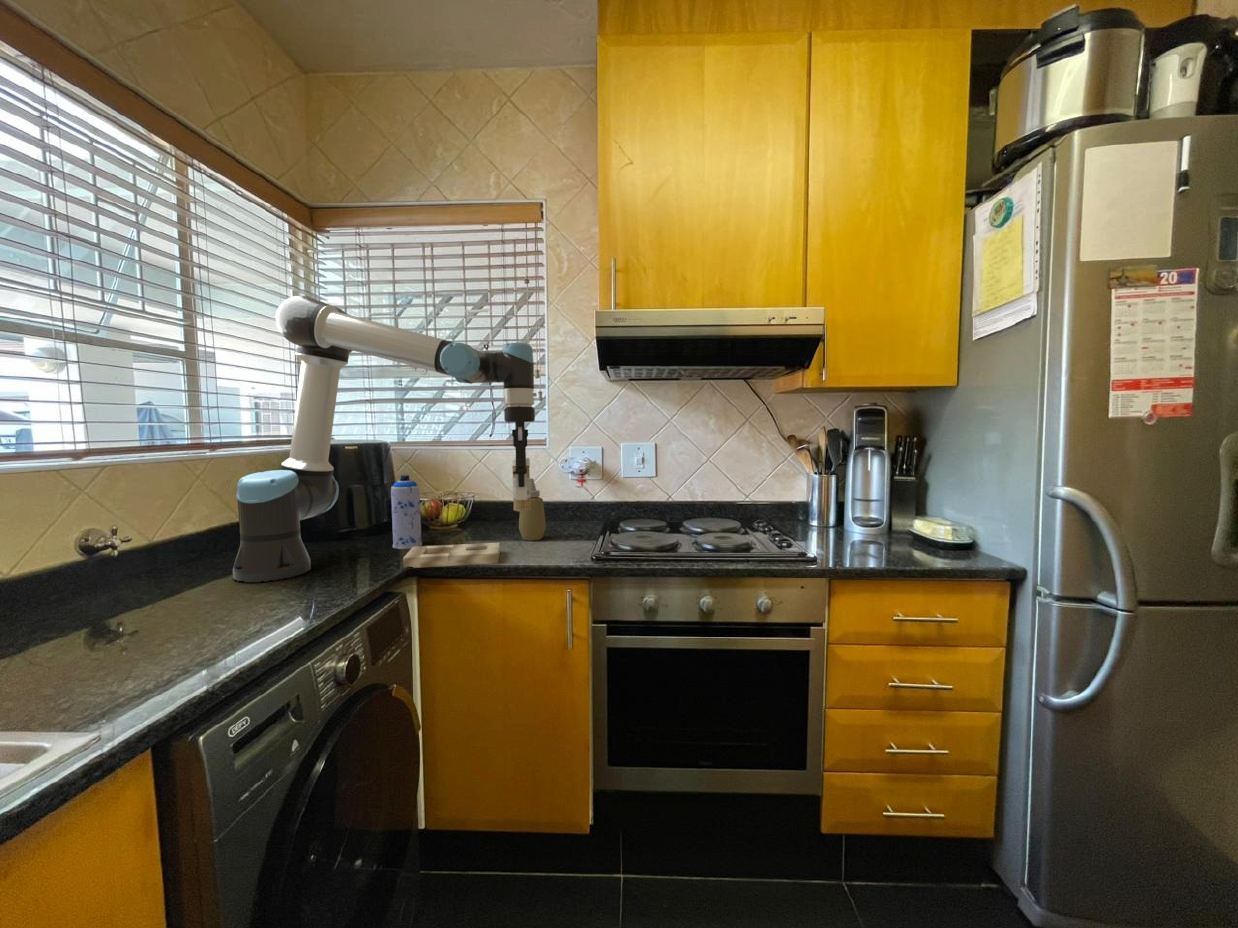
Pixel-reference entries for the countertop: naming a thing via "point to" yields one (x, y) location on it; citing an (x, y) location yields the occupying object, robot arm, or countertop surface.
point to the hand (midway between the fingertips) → (521, 498)
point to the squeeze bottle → (533, 517)
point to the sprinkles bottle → (525, 504)
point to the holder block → (452, 555)
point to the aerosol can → (406, 513)
